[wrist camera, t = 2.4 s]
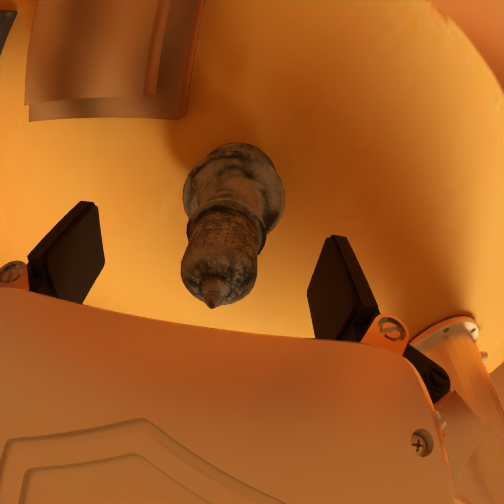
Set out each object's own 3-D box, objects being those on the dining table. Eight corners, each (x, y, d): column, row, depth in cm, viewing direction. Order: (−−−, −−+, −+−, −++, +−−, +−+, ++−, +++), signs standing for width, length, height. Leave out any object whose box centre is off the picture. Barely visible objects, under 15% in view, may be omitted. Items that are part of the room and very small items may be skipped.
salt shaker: (194, 137, 17) (108, 222, 7) (285, 141, 17) (320, 234, 7) (196, 216, 21) (144, 351, 11) (276, 221, 21) (289, 363, 11)
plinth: (215, -43, 10) (205, -69, 7) (185, 116, 17) (167, 125, 13) (63, -20, 9) (33, -28, 6) (44, 116, 16) (11, 128, 12)
